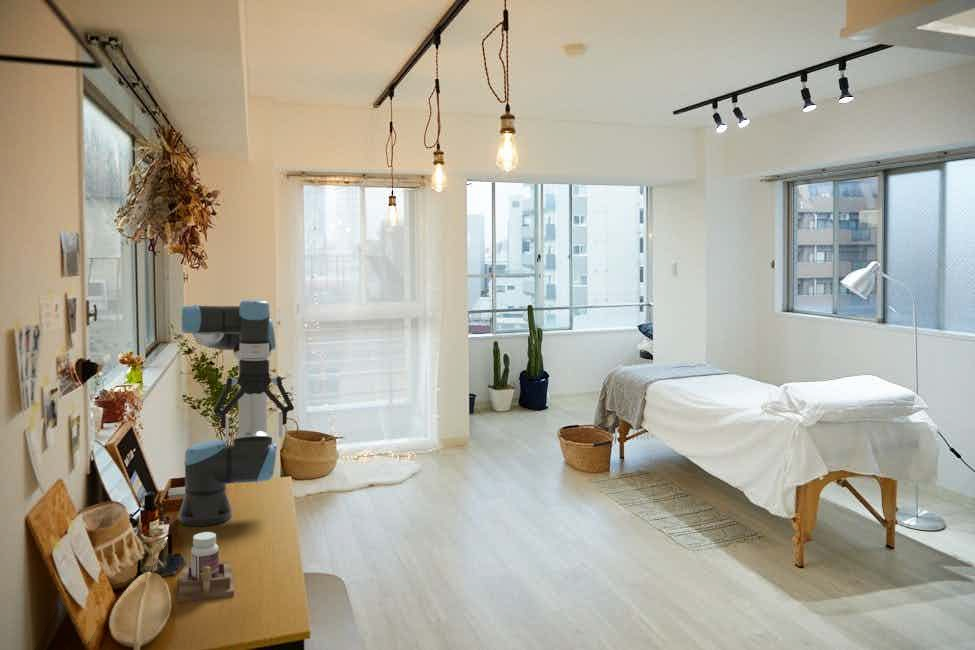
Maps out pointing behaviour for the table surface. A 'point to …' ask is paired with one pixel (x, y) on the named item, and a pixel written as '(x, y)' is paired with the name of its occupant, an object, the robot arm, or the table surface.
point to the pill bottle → (204, 555)
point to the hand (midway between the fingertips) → (254, 438)
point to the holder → (206, 584)
